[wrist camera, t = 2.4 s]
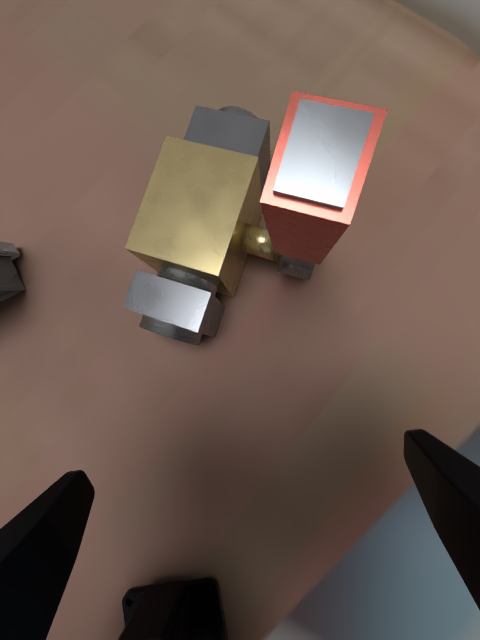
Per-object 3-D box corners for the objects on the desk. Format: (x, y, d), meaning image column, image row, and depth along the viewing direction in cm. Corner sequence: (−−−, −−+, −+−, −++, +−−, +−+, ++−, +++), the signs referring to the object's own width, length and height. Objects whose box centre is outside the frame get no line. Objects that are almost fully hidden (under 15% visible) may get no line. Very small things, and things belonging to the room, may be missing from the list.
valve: (247, 360, 21) (237, 362, 15) (146, 326, 22) (99, 315, 16) (309, 169, 22) (322, 100, 16) (210, 147, 23) (188, 74, 17)
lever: (307, 282, 20) (348, 233, 6) (277, 273, 20) (255, 209, 7) (321, 239, 19) (395, 90, 6) (290, 231, 20) (295, 72, 6)
